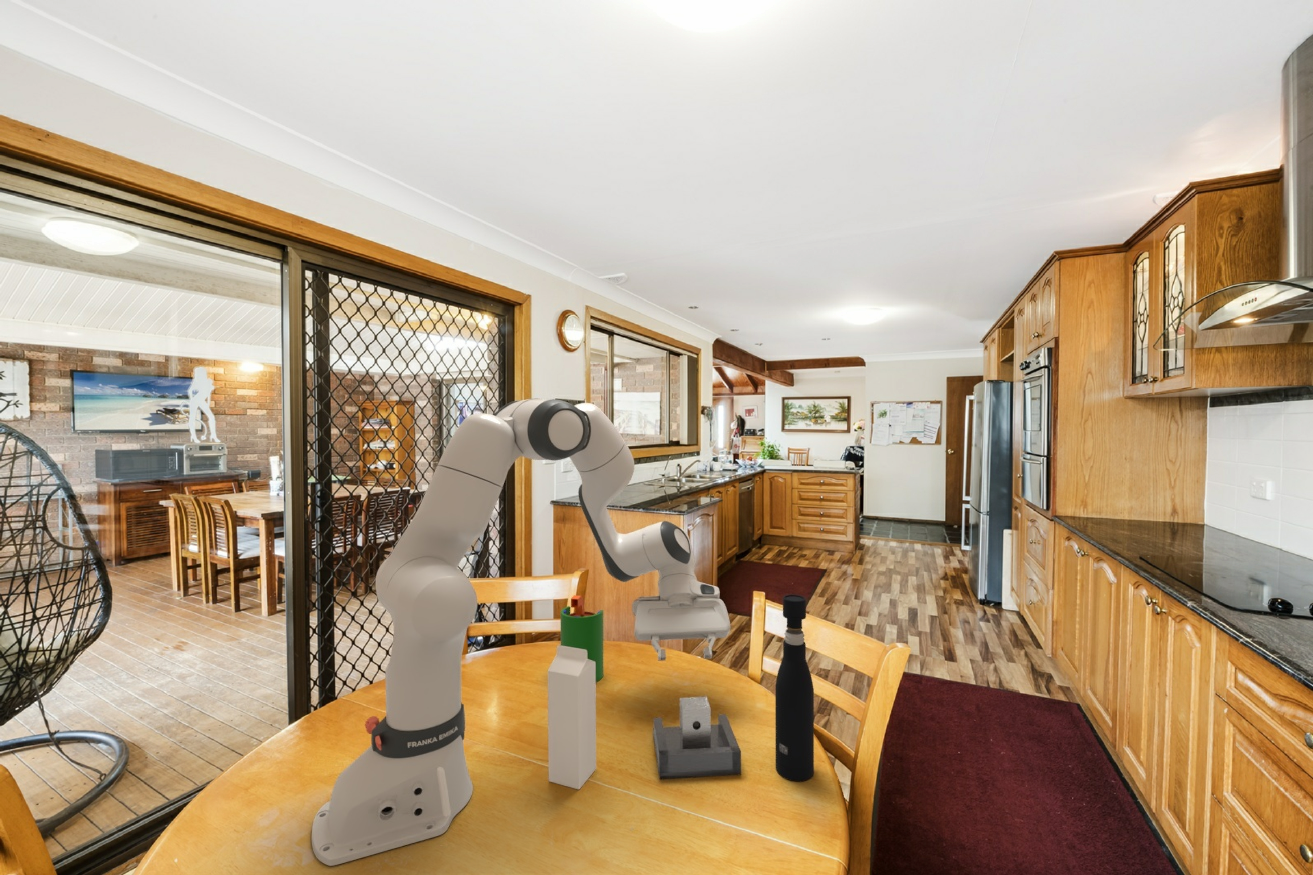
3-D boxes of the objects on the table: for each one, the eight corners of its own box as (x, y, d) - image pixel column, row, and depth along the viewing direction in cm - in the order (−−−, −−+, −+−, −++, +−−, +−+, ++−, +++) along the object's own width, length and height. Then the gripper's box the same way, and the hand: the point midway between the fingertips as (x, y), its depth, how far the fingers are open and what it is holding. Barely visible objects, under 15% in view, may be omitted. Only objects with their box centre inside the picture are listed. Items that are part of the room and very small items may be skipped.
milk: (566, 761, 96) (565, 638, 96) (597, 769, 94) (596, 643, 94) (547, 782, 90) (546, 651, 90) (579, 790, 88) (578, 656, 88)
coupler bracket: (652, 732, 105) (652, 712, 105) (723, 729, 106) (723, 709, 106) (659, 779, 91) (659, 756, 91) (740, 774, 92) (740, 751, 92)
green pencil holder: (606, 669, 133) (605, 588, 132) (598, 686, 124) (598, 600, 124) (565, 667, 134) (565, 587, 133) (555, 684, 125) (554, 599, 125)
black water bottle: (813, 761, 96) (813, 593, 95) (813, 785, 89) (813, 605, 89) (776, 756, 97) (776, 590, 97) (774, 778, 91) (774, 602, 91)
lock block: (679, 746, 99) (679, 697, 99) (706, 745, 99) (706, 696, 99) (682, 760, 95) (682, 709, 94) (710, 758, 95) (710, 708, 95)
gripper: (632, 590, 116) (634, 654, 106) (726, 587, 117) (736, 650, 108) (631, 604, 120) (633, 667, 110) (721, 601, 122) (731, 662, 112)
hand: (685, 658), depth 109 cm, fingers open, 8 cm apart
